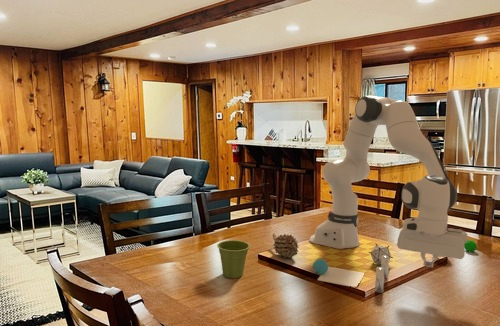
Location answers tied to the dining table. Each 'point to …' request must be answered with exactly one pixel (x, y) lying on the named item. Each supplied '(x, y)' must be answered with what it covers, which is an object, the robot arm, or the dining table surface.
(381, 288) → the post
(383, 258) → the post
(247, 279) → the dining table surface
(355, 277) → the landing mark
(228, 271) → the plant pot
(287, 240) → the pine cone
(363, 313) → the dining table surface
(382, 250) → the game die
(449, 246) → the robot arm
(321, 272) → the ball
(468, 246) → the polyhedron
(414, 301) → the dining table surface
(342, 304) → the dining table surface
